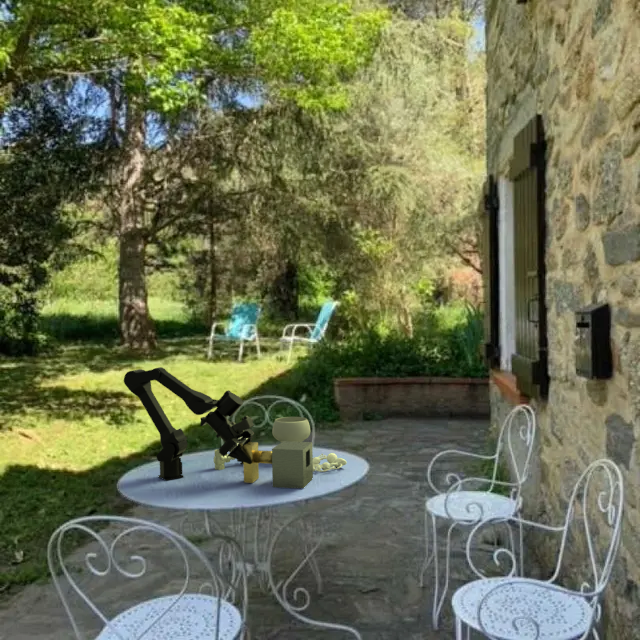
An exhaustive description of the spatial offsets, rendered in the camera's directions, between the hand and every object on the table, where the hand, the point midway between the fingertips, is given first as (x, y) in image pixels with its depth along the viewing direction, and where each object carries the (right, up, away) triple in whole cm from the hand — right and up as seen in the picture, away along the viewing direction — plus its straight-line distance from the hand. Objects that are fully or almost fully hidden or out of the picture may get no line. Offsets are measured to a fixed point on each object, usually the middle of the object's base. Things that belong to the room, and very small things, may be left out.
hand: (254, 461), depth 218 cm
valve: (-11, -7, +21) cm, 25 cm away
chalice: (+11, -6, +30) cm, 32 cm away
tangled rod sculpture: (+21, -6, +15) cm, 27 cm away
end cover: (+3, -6, 0) cm, 7 cm away
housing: (+13, -6, -3) cm, 14 cm away
